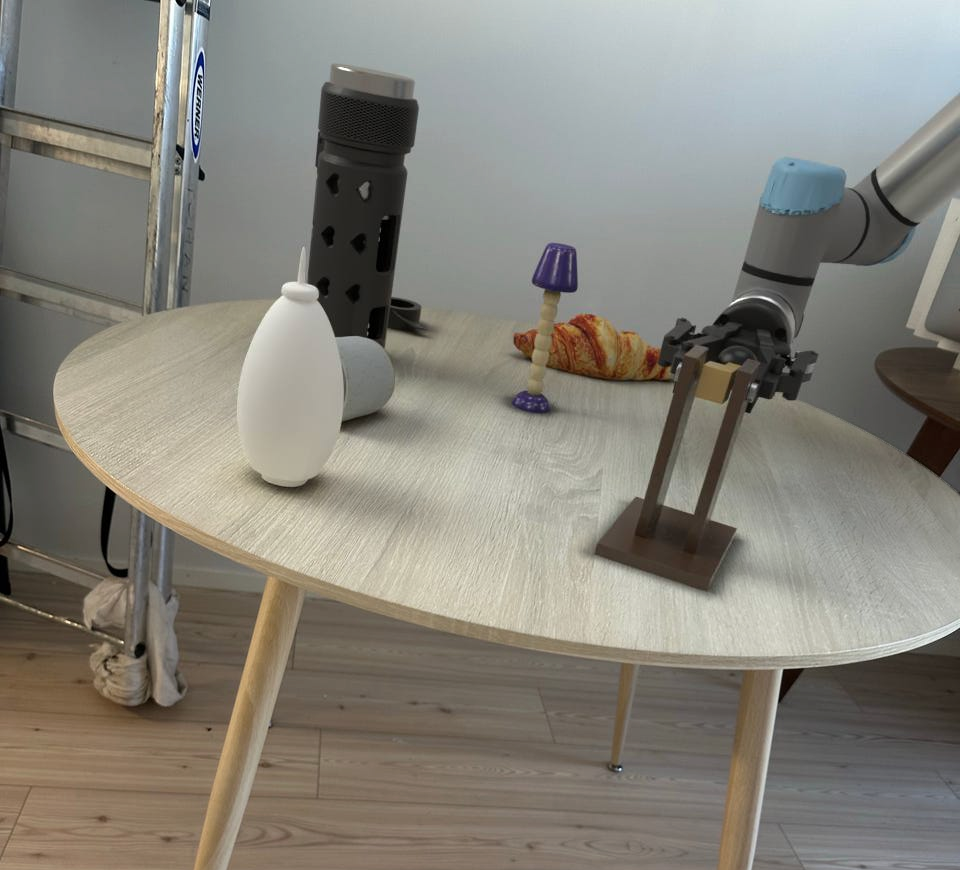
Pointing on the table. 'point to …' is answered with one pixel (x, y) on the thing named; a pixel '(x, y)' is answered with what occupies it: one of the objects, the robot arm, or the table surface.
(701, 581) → the stand
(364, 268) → the water bottle
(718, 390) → the lever
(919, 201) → the robot arm
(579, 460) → the table surface
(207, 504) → the table surface
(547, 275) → the toy lamp
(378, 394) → the ceramic mug
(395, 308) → the duct tape
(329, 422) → the air blower bulb
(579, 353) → the croissant
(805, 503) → the table surface
